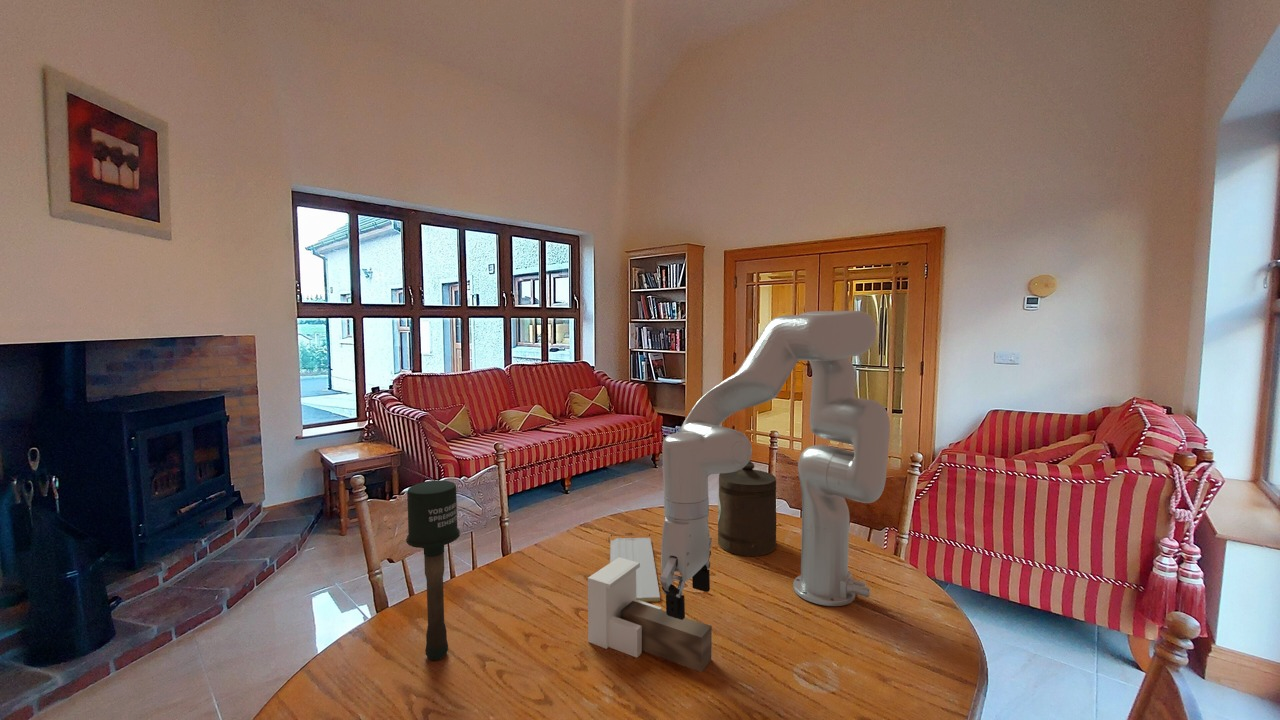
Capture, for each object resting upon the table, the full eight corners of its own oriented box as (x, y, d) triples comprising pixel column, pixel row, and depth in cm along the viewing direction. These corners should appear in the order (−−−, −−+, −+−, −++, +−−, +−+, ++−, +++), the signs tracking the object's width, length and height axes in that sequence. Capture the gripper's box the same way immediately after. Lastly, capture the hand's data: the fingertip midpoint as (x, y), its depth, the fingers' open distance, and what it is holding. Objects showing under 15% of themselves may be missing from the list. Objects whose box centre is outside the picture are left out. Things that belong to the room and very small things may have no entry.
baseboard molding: (602, 605, 112) (660, 604, 112) (602, 591, 112) (660, 590, 112) (605, 543, 143) (650, 543, 143) (605, 533, 142) (650, 532, 143)
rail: (711, 659, 93) (711, 625, 92) (701, 672, 89) (701, 637, 89) (632, 631, 101) (632, 600, 101) (621, 642, 98) (620, 610, 97)
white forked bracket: (663, 631, 101) (663, 569, 100) (634, 659, 93) (634, 592, 92) (619, 616, 106) (618, 557, 106) (588, 641, 98) (587, 577, 97)
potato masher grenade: (432, 677, 88) (426, 497, 86) (399, 660, 93) (393, 488, 91) (473, 650, 95) (469, 484, 93) (441, 635, 100) (436, 476, 98)
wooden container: (740, 529, 151) (741, 451, 150) (787, 545, 140) (788, 461, 139) (706, 543, 141) (706, 461, 140) (753, 562, 130) (754, 472, 129)
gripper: (689, 488, 101) (691, 575, 102) (640, 520, 86) (644, 622, 88) (726, 494, 97) (728, 585, 98) (682, 529, 82) (685, 635, 84)
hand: (689, 602), depth 93 cm, fingers open, 9 cm apart
